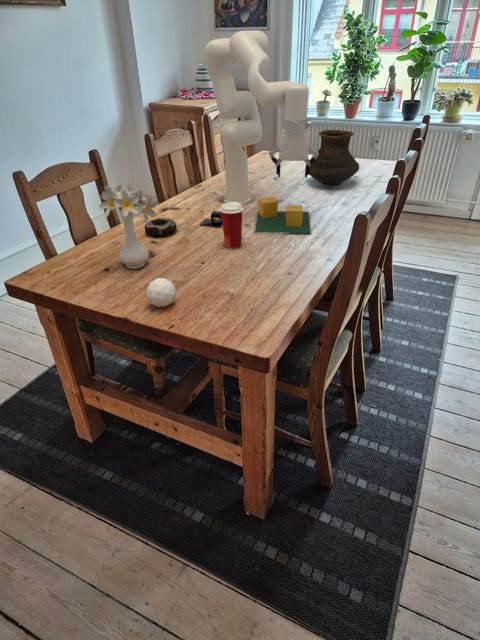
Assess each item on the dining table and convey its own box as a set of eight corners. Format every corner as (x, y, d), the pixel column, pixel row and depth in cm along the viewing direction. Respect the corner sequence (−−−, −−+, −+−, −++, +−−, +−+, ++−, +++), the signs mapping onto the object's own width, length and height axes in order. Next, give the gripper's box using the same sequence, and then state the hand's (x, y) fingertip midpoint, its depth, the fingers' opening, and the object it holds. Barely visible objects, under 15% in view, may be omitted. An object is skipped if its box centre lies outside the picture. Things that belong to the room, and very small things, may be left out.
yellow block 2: (285, 226, 164) (286, 210, 160) (285, 220, 169) (286, 205, 165) (302, 226, 163) (302, 210, 160) (301, 220, 168) (302, 205, 165)
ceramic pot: (366, 181, 209) (373, 131, 197) (340, 194, 194) (345, 140, 182) (322, 173, 223) (326, 125, 211) (294, 185, 208) (296, 134, 196)
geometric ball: (157, 315, 121) (135, 297, 117) (169, 293, 125) (148, 275, 121) (174, 310, 116) (152, 291, 112) (186, 287, 120) (165, 268, 116)
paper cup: (247, 241, 154) (246, 202, 147) (239, 250, 148) (238, 210, 141) (226, 239, 157) (224, 200, 149) (218, 248, 151) (215, 208, 143)
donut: (139, 236, 162) (137, 226, 159) (155, 225, 171) (153, 215, 168) (167, 240, 158) (166, 229, 156) (182, 228, 167) (181, 217, 165)
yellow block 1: (262, 218, 171) (262, 203, 168) (258, 213, 176) (258, 198, 173) (277, 216, 173) (277, 201, 169) (272, 211, 177) (272, 196, 174)
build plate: (235, 221, 171) (235, 210, 169) (230, 228, 165) (229, 217, 163) (205, 219, 174) (204, 207, 172) (198, 226, 168) (198, 214, 166)
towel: (254, 234, 160) (254, 232, 160) (258, 212, 178) (258, 211, 178) (310, 234, 158) (310, 232, 158) (308, 213, 177) (308, 211, 176)
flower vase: (155, 276, 135) (143, 195, 121) (102, 270, 139) (84, 191, 125) (172, 258, 145) (163, 182, 131) (122, 253, 149) (107, 179, 136)
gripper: (320, 123, 151) (316, 173, 161) (269, 123, 153) (268, 173, 162) (321, 127, 145) (317, 180, 155) (269, 127, 147) (267, 179, 156)
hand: (292, 176), depth 159 cm, fingers open, 9 cm apart
